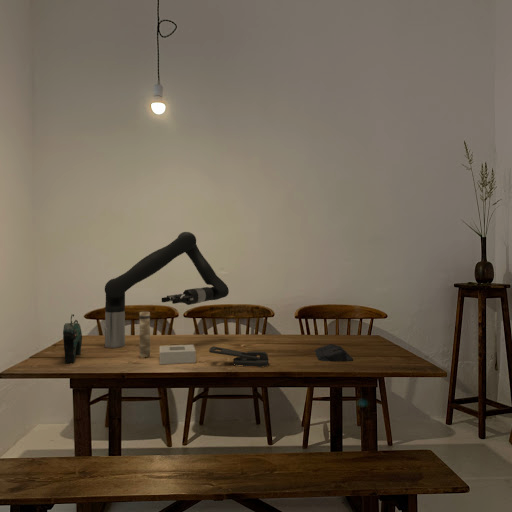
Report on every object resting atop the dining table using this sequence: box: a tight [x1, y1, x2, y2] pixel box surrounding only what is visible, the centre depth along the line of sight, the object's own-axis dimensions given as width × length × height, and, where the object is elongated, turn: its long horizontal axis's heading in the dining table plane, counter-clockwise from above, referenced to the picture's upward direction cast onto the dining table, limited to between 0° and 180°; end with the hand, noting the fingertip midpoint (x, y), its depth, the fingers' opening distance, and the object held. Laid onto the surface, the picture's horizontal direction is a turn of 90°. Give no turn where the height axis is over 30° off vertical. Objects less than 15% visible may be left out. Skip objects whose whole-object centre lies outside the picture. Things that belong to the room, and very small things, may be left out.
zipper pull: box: [208, 346, 270, 368], centre depth 199 cm, size 9×7×25 cm
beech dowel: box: [138, 311, 151, 358], centre depth 211 cm, size 5×5×20 cm
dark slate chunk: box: [314, 343, 354, 362], centre depth 215 cm, size 15×22×5 cm
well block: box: [159, 344, 197, 365], centre depth 206 cm, size 15×13×5 cm
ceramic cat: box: [62, 313, 83, 365], centre depth 207 cm, size 20×6×20 cm, turn 9°
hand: (167, 300), depth 222 cm, fingers open, 8 cm apart
